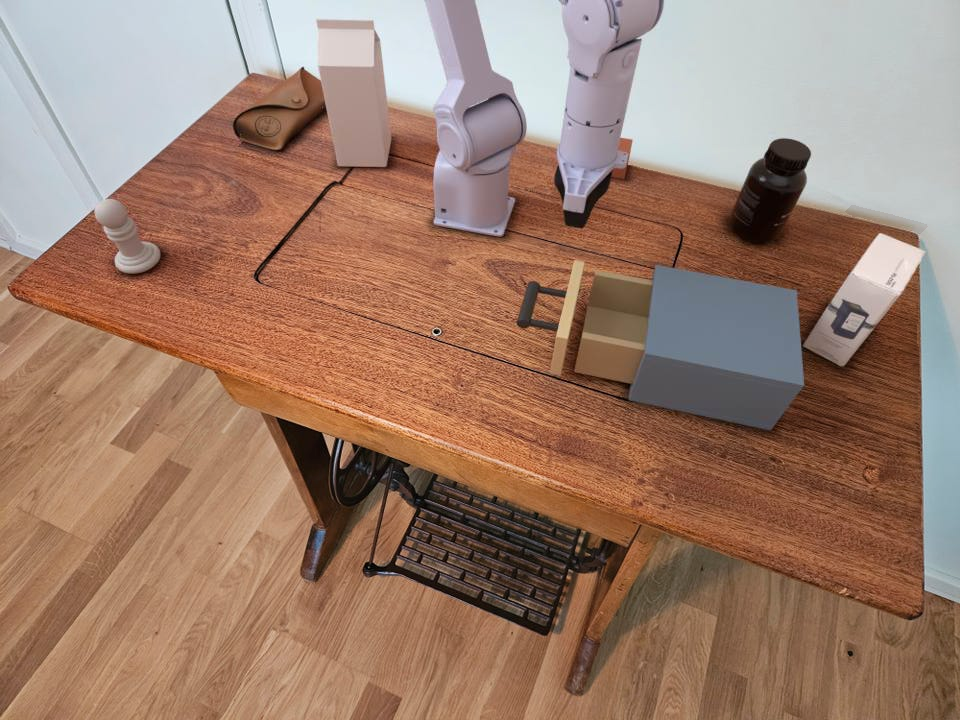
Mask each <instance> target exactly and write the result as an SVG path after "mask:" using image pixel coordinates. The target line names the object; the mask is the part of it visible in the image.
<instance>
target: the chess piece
mask: <svg viewBox="0 0 960 720" xmlns="http://www.w3.org/2000/svg"><path fill="white" fill-rule="evenodd" d="M93 213H94V217H95V219H96V221H97V222H98V223H99V224H100V225H101V226H103V232H104V233H105V234H106V236H107V238H108V239H109V240H110V241H111V242H114V245H115V246H116V248H117V249H118V251H117V252H116V254H115V256H114V259H113V260H114V266H115V267H116V269H118V270H119V271H120V272H122V273H124V274H128V275H129V274H130V275H134V274H135V275H137V274H141V273H145V272H147V271H149V270H151V269H152V268H153V267H155V266H156V265H157V264H158V262H159V261H160V260H161V250H160V248H159V247H158V246H157V245H156V244H154V243H152V242H150V241H143V240H142V241H141V238H140V237H139V235H138V227H137V225H135V222H134V219H132V218H131V217H129V215H128V210H127V208H126V206H125V205H124V204H123V203H122V202H121V201H119V200H117V199H114V198H105V199H102V200H100V201H99V202H98V203H97V204H96V205H95V207H94V212H93Z"/></svg>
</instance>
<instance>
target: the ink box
mask: <svg viewBox="0 0 960 720" xmlns="http://www.w3.org/2000/svg"><path fill="white" fill-rule="evenodd" d="M925 254H926V250H924V249H921V248H920V247H916V246H914V245H911V244H909V243H906V242H903V241H902V240H899V239H896V238H894V237H892V236H889V235H887V234H885V233H882V232H879V233H878V234H877V235H876V237H875V238H874V239H873V241H872V242H871V243H870V244H869V246H868V247H867V249H866V250H865V251H864V253H863V255H861V257H860V258H859V260H858V262H857V263H856V264H855V265H854V267H853V269H852V270H851V271H850V272H849V274H848V275H847V277H846V279H845V280H844V281H843V283H842V285H841V286H840V287H839V289H838V290H837V292H836V293H835V295H834V296H833V298H832V299H831V301H830V302H829V303H828V305H827V307H826V308H825V310H824V311H823V312H822V314H821V316H820V317H819V319H818V321H817V322H816V324H815V325H814V327H813V329H812V330H811V332H810V333H809V335H808V336H807V338H806V340H805V341H804V343H803V344H802V347H803V348H805V349H807V350H809V351H811V352H812V353H815V354H817V355H819V356H821V357H822V358H824V359H826V360H828V361H830V362H832V363H833V364H836V365H838V366H839V367H844V366H845V365H846V364H847V363H848V362H849V361H850V360H851V358H852V357H853V355H855V353H856V352H857V350H858V349H859V348H860V347H861V345H862V344H863V343H864V341H866V339H867V338H868V336H870V335H871V333H872V332H873V330H874V329H875V328H876V327H877V325H878V324H879V323H880V322H881V320H882V319H883V318H884V316H886V313H888V311H889V310H890V308H892V306H893V305H894V304H895V302H896V301H897V300H898V298H899V297H900V296H901V295H902V294H903V292H904V291H905V289H906V287H907V286H908V284H909V282H910V280H911V279H912V277H913V275H914V273H915V272H916V271H917V268H918V266H919V265H920V263H921V262H922V260H923V258H924V257H925V256H926V255H925Z"/></svg>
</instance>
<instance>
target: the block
mask: <svg viewBox="0 0 960 720" xmlns="http://www.w3.org/2000/svg"><path fill="white" fill-rule="evenodd" d="M633 140H634V139H632V138H627V137H620V141H619V146H618V150H619V151H623V152H626V153H628V160H627V164H626V167H625V168H623V169H619V168H614V169H613V172H612V176H611V177H610V178H614V179H622V180H625V177H626V174H627V169H628V164H629V161H630V156H631V151H632V146H633Z"/></svg>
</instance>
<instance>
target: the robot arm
mask: <svg viewBox="0 0 960 720" xmlns="http://www.w3.org/2000/svg"><path fill="white" fill-rule="evenodd" d="M423 2H424V4H425V7H426V8H425V9H426V12H427V15H428V18H429V22H430V26H431V29H432V33H433V36H434V40H435V43H436V47H437V50H438V54H439V58H440V61H441V65H442V68H443V72H444V75H445V79H446V83H445V86H444V88H443V90H442V91H441V93H440V95H439V96H438V98H437V99H436V101H435V103H434V105H433V107H432V111H433V115H434V119H435V124H436V141H437V145H438V148H439V151H438V154H437V155H436V158H435V161H434V162H435V163H434V167H433V183H432V187H433V201H434V204H433V205H434V219H433V224H434V226H437V227H444V228H449V229H453V230H460V231H465V232H471V233H476V234H481V235H486V236H493V237H499V238H500V237H503V236H504V234H505V232H506V229H507V227H508V223H509V220H510V217H511V215H512V212H513V210H514V206H515V203H516V198H515V197H512V196H509V189H510V175H511V174H510V173H511V158H512V157H513V156H514V155H515V154H516V146H517V145H519V144H521V143H522V142H523V141H524V139H525V137H526V135H527V127H528V126H527V117H526V114H525V111H524V109H523V107H522V105H521V103H520V102H519V99H518V98H517V94H516V92H515V88H514V84H513V81H511V80H510V79H509V78H507V77H505V76H503V75H501V74H500V73H497V72H496V71H495V70H493V68H492V65H491V60H490V57H489V52H488V49H487V44H486V40H485V35H484V31H483V27H482V23H481V20H480V15H479V10H478V7H477V2H476V0H424V1H423ZM558 2H559V3H560V4H561V5H562V6H561V7H562V8H561V18H562V25H563V29H564V32H565V35H566V38H567V43H568V45H567V46H568V48H567V57H566V59H568V64H569V73H568V80H567V81H568V82H567V90H566V96H565V105H564V112H563V119H562V127H561V134H560V141H559V144H558V146H557V148H556V149H557V150H556V160H557V166H556V170H555V173H554V177H553V181H554V186H555V188H556V189H557V191H558V193H559V195H560V198H561V203H562V212H563V220H564V224H565V226H566V227H571V228H574V229H575V228H576V229H581V230H582V229H585V227H586V224H587V223H588V221H589V218H590V217H591V214H592V211H593V209H594V207H595V206H596V204H597V203H598V201H599V200H600V199H602V198H603V196H604V195H606V193H607V191H608V190H609V188H610V185H611V184H610V183H611V180H612V179H611V178H612V177H611V176H612V172H613V169H614V168H619V169H623V168H625V167H626V164H627V160H628V153H626V152H623V151H619V150H618V146H619V141H620V138H622V137H621V136H622V132H623V127H624V122H625V118H626V114H627V110H628V106H629V101H630V96H631V93H632V87H633V83H634V82H633V81H634V78H635V73H636V68H637V65H638V59H639V55H640V51H641V46H642V41H643V39H642V36H645V35H646V34H648V32H651V31H652V30H653V29H654V28H655V27H656V26H657V24H658V23H659V22H660V20H661V17H662V14H663V11H664V6H665V0H558ZM640 37H641V38H640Z"/></svg>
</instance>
